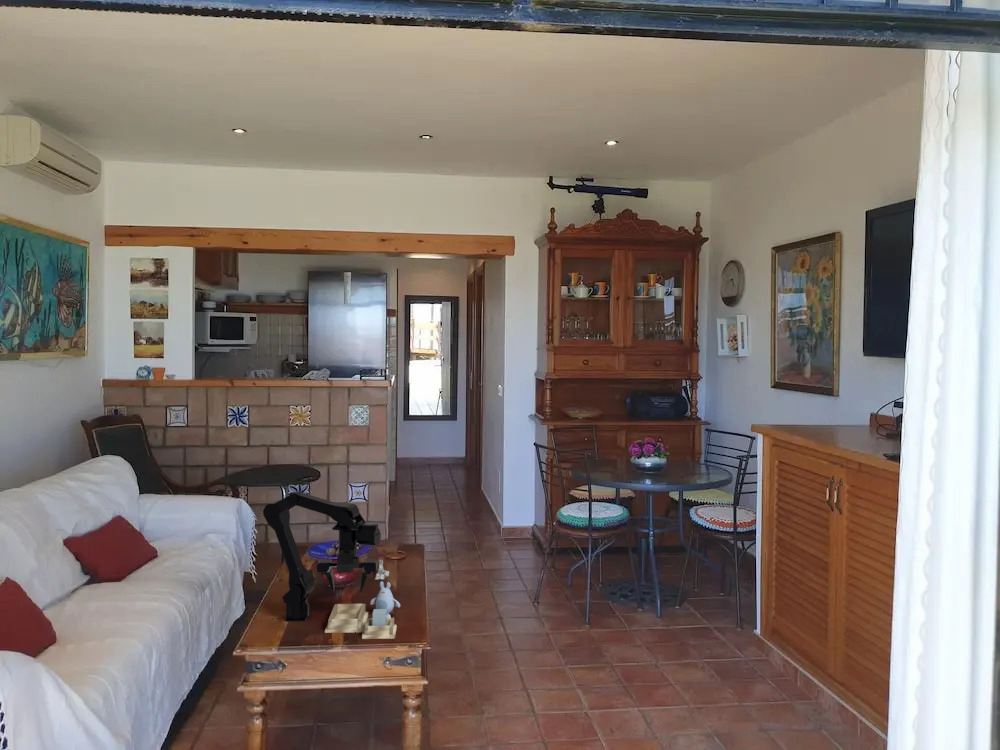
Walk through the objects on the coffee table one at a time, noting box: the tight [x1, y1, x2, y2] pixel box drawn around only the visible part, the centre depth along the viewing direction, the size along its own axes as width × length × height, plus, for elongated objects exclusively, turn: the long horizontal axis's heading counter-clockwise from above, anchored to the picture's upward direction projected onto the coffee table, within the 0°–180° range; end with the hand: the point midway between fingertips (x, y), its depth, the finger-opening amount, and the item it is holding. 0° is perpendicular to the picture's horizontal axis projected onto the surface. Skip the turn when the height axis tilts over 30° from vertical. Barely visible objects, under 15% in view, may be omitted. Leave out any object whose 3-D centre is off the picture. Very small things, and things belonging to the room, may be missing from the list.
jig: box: [324, 603, 398, 640], centre depth 242 cm, size 22×21×4 cm
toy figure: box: [369, 581, 401, 618], centre depth 250 cm, size 11×6×12 cm, turn 76°
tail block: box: [372, 608, 387, 626], centre depth 236 cm, size 4×4×6 cm
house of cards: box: [374, 559, 390, 580], centre depth 292 cm, size 9×9×8 cm
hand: (347, 591), depth 244 cm, fingers open, 9 cm apart
